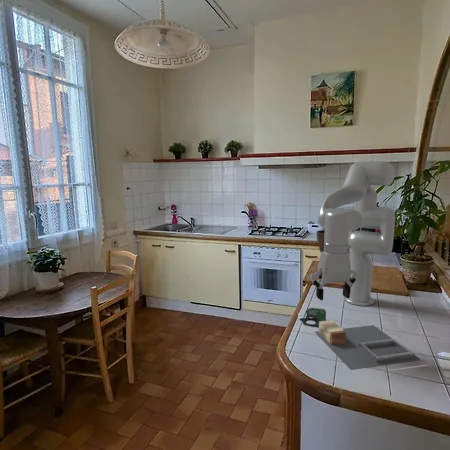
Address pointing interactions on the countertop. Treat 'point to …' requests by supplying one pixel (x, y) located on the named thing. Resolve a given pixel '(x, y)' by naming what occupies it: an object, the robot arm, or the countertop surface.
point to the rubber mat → (359, 358)
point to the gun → (314, 316)
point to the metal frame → (391, 357)
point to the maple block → (332, 332)
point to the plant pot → (321, 239)
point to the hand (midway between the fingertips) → (333, 297)
